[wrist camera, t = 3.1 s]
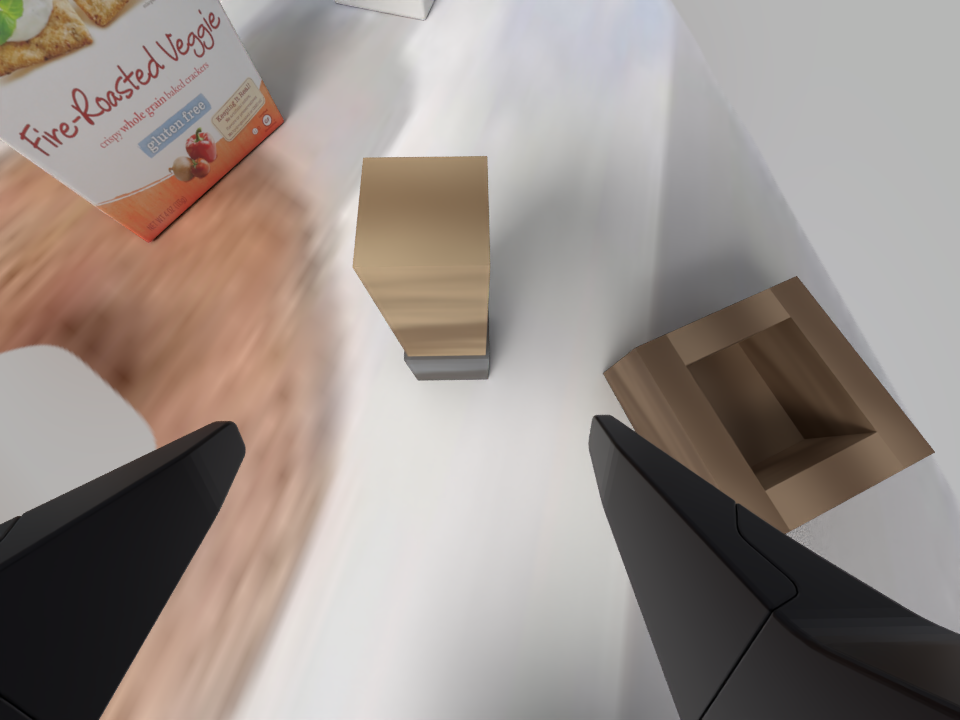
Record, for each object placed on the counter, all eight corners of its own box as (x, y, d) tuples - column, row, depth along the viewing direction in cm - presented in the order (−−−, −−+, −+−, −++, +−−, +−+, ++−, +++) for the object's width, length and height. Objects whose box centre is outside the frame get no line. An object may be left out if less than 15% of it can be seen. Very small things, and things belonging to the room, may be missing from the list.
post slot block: (691, 531, 20) (756, 549, 16) (603, 373, 23) (635, 347, 18) (834, 456, 22) (934, 452, 17) (734, 314, 24) (796, 276, 19)
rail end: (487, 379, 23) (497, 271, 11) (417, 380, 23) (345, 273, 11) (486, 315, 24) (493, 151, 12) (420, 316, 24) (357, 152, 12)
